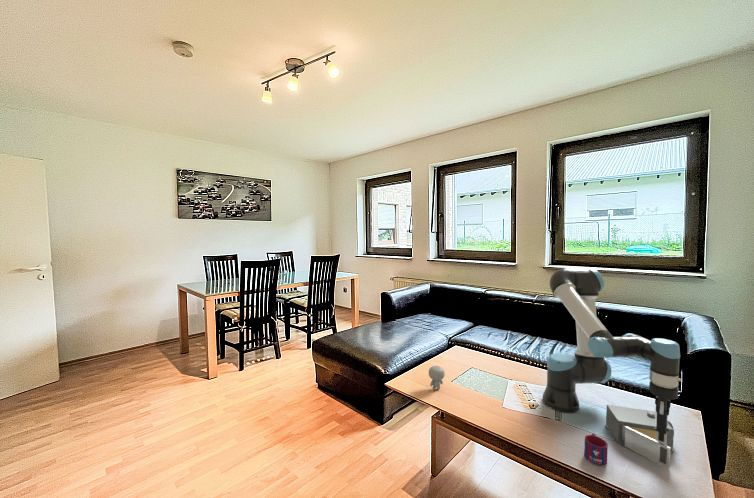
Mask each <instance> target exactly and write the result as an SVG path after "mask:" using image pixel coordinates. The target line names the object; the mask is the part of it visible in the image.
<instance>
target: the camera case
mask: <svg viewBox="0 0 754 498" xmlns="http://www.w3.org/2000/svg"><path fill="white" fill-rule="evenodd" d="M605 416H606V418H605V419H606V421H605V425H606V427H607V429H608V430H609V432H610V433H611V435H612V436H613V439H614V440H615V442H616V444H620V445H622V425H625V426H627V427H629V428H631V429H633V430H635V431H637V432H639V433H642V434H644V435H646V436H648V437H650V438H652V439H654V440H656V430H654V427H655V428H657V412H656V410H647V409H642V408H641V409H640V408H633V407H627V406H622V405H621V406H620V405H613V404H606V415H605ZM667 424H668V426H667V428H669V429H670V431H667V430H666V431H667V444H666V446H669V447H671V449H670V454H673V452H674V436H675V429H674V426H673V424H672V423H671V422H670V420H667Z"/></svg>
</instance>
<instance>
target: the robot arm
mask: <svg viewBox="0 0 754 498" xmlns="http://www.w3.org/2000/svg"><path fill="white" fill-rule="evenodd" d="M550 276H551V277H550V278H549V288H550V290H551V293H552V294H553V295H554V297H555V298H557V299H559V300H560V301H561V302H562V304H563V306H564V307H565V308H566V309H567V311H568V312H569V313H570V316H572V318H573V319H574V320H575V330H576V344H577V349H576V350H575V351H574V353H573V354H574V355H573V354H570V353H567V352H565V353H564V352H555V353H552V354H550V355H549V356H548V358H547V363H546V367H547V369H546V370H547V371H546V372H547V373H546V377H547V378H546V387H545V389H544V391H543V393H542V402H543V404H544V405H545V406H547V408H550V409H552V410H554V411H557V412H560V413H565V414H566V413H567V414H573V413H577V412H579V411H580V401H579V399H578V398H579V397H578V395H577V392H576V388H577V387H576V385H577V384H580V385H581V384H596V385H598V384H604V383H607V382H608V381H609V380H610V379H611V376H612V365H611V364H610V362H609V360H608V359H609V358H640V359H643V360H645V361H647V362H649V365H650V366H649V380H650V381H649V385H648V386H649V387H648V389H649V390H648V391H649V393H651V394H652V395H654V396H655V398H654V399H655V400H654V404H655V412H657V428H655V427H654V430H656V441H658V442H660V443H662V444H664V445H666V444H667V431H670V429H669V428H667V426H668V424H667V421H668V416H669V415H670V409H671V400H677V399H678V398H679V382H681V381H682V379H681V378H679V377H680V360H681V351H680V350H681V349H680V344H679V343H678V342H676V341H673V340H671V339H666V338H661V337H660V338H659V337H658V338H657V337H655V338H651V340H650V339H648V338H646V337H643V336H641V335H639V334H634V333H625V334H623V335H621V336H613V335H612V334H611V333H610V331H609V330H608V329H607V328H606V326H605V325H604V324H603V323H602V322H601V320H600V319H599V317H597V306H596V305H597V304H596V299H597V298H599V297H600V294H599V293H600V292H602V291H603V288H604V287H605V280H604V278H603V276H602V274H601V273H600V272H599V270H597V269H595V268H590V267H589V268H588V267H580V268H579V267H577V268H576V267H571V268H569V267H567V268H566V267H565V268H560V269H557V270H556V271H554V272H553V273H552V275H550ZM666 430H667V431H666Z"/></svg>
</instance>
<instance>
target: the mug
mask: <svg viewBox="0 0 754 498" xmlns="http://www.w3.org/2000/svg"><path fill="white" fill-rule="evenodd" d="M608 447H609V444H608V442H607V441H606V440H605V439H604V438H602V437H600V436H597V435H596V433H591V434H588V435H585V436H584V449H583V450H584V452H583V453H584V454H583V455H584V456H583V457H584V458H585V460H587V461H588V462H589V463H590V464H592V465H595V466H598V467H599V466H600V467H605V466H606V465H608Z"/></svg>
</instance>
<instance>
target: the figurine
mask: <svg viewBox="0 0 754 498" xmlns="http://www.w3.org/2000/svg"><path fill="white" fill-rule="evenodd" d="M428 377H429V378H430V379H431V382H430V385H429V386H430V387H432V390H433V389H434V390H433V391H436V390H438V389H439V390H440V389H441V385H443V382H444V381H443V379H444V378H445V370H444V368H443V367H441V366H438V365H431V366H430V367H429V369H428Z"/></svg>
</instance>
